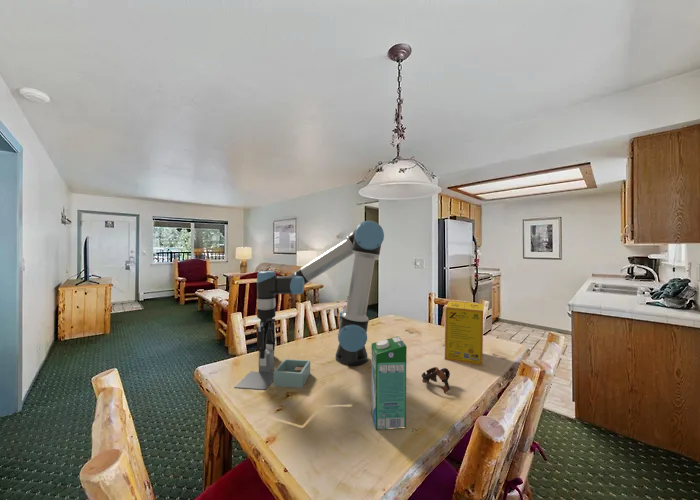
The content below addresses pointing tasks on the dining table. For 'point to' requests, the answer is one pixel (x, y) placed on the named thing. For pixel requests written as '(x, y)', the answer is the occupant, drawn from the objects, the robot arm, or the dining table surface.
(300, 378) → the tub
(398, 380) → the milk carton
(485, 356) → the dining table surface
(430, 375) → the brown curved piece
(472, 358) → the packaging box
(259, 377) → the bookend
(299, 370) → the walnut block
